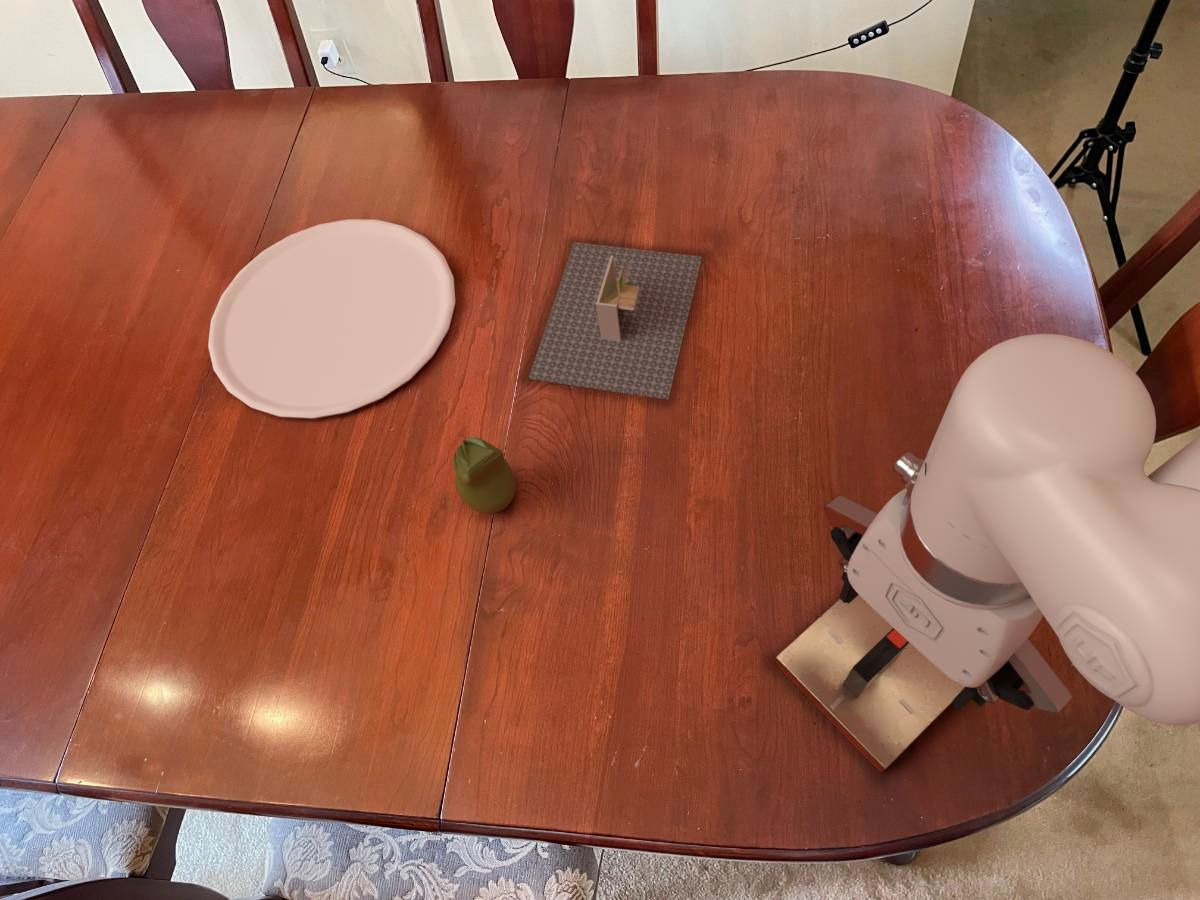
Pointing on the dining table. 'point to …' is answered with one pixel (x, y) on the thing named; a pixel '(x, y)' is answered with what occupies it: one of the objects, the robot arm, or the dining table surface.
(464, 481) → the pear
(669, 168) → the dining table surface
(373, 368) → the plate
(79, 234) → the dining table surface
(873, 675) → the lock knob
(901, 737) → the plate
